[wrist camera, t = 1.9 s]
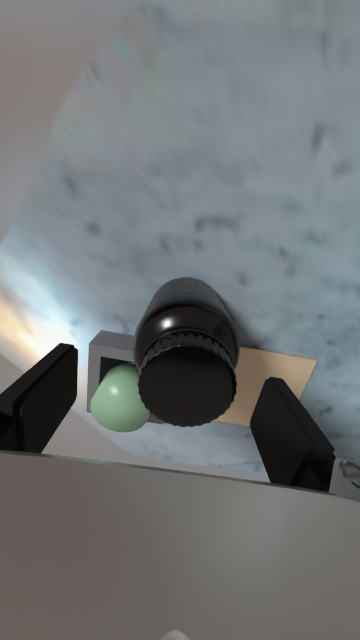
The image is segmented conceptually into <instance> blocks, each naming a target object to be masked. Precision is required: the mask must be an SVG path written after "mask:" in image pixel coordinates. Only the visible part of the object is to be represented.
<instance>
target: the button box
mask: <svg viewBox="0 0 360 640" xmlns="http://www.w3.org/2000/svg"><path fill="white" fill-rule="evenodd" d="M133 340H134V336H131V335H125V334H119V333H114V332H108V331H102V330H101V331H100V332H99V333H98V334H97V335H96V337H95V338H94V339H93V340H92V341H91V342H90V343H89V358H88V387H87V412H90V413H92V412H91V406H90V405H91V400H92V398H93V396H94V394H95V393H96V391H97V389H98V387H99V386H100V384H101V382H102V381H103V379H104V377H105V375H106V374H107V372H108V371H109V364H110V358H113V359H119V360H125V361H130V362H135V360H134V356H133ZM147 422H151V423H157V424H164V421H162V420H159V419H157V418H156V416H154V415H152V414H149V418H148V420H147Z"/></svg>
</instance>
